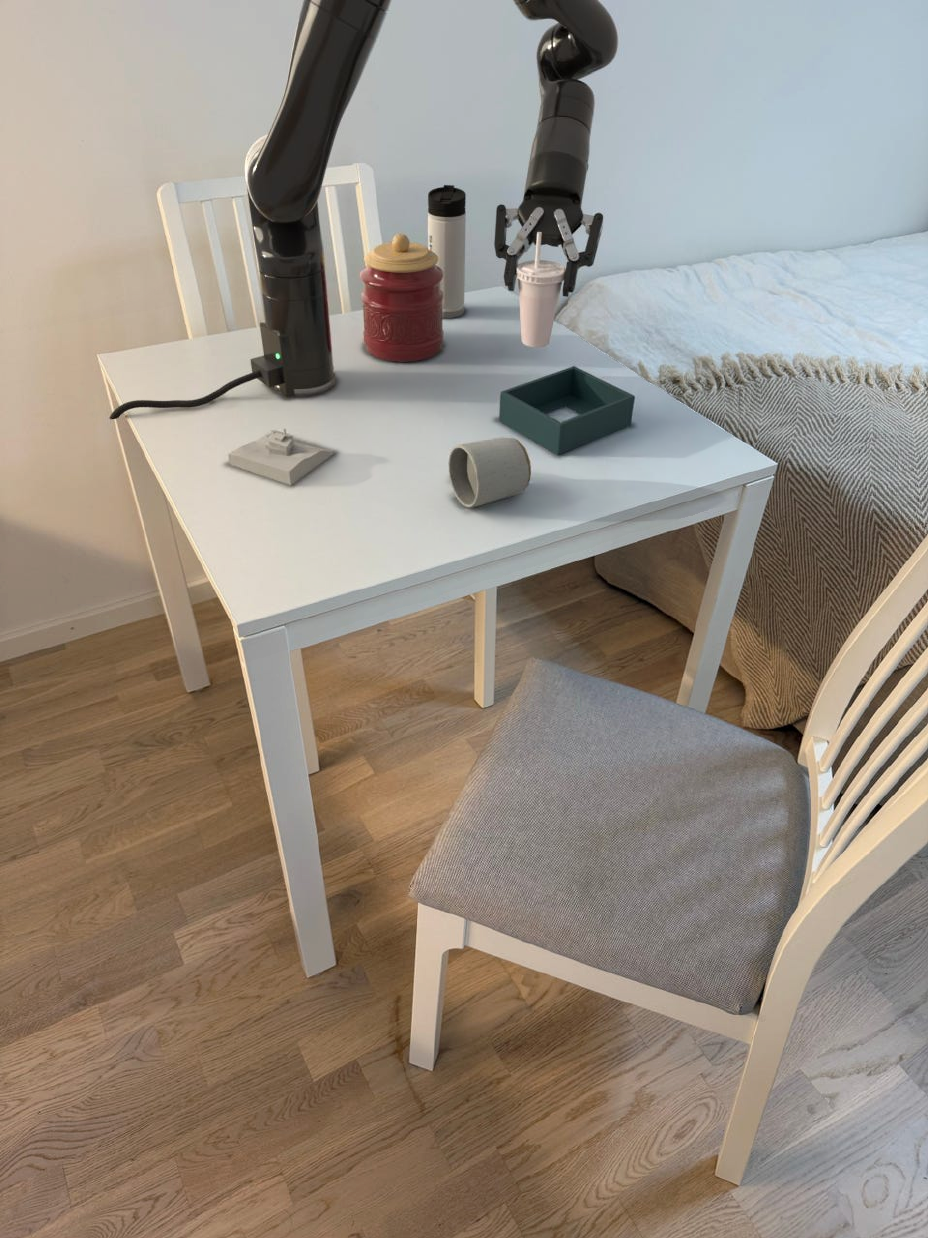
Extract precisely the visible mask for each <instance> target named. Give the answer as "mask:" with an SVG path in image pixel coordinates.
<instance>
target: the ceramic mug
mask: <svg viewBox="0 0 928 1238" xmlns="http://www.w3.org/2000/svg"><path fill="white" fill-rule="evenodd" d="M448 475H449V480H450V483H451V488H452V491H453V493H454V495H455V497H456V499H457V500H458V501H459V503H460V504H461V505H463V506H464V507H465V508H469V509H470V508H476V507H478V506H482V505H486V504H490V503H493V502H496V501H500V500H503V499H507V498H510V497H514V496H517V495H519V494H521V493H523V492H524V491H525V490H526V489H527V488H528V486H529V484H530V481H531V476H532V466H531V460H530V457H529V454H528V452H527V449H526V448H525V446H524V444H522V442H520V440H518V439H516V438H514V437H495V438H490V439H485V440H478V441H474V442H466V443H459V444H457V445H455V446H454V447H452V449H451V451H450V453H449V457H448Z"/></svg>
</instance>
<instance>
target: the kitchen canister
mask: <svg viewBox="0 0 928 1238" xmlns="http://www.w3.org/2000/svg"><path fill="white" fill-rule="evenodd" d="M437 262H438V256H437V255H436V254H435V253H434V252H432V251H430V250H429V249H428V246H425V244H421V243H419V242H412V241H410V239H409V237H408V236H407V235H406V234H404V233H397V234H395V235H394V236H393V238H392V241H389V242H385V243H380V244H378V245H377V246H375V247H374V248H373V249H372V250H370V251H369V252H368V253H366V254H365V256H364V263H365V264H366V265H365V266H364V267H363V268H362V269H361V271H360V273H359V278H360V280H361V281H362V282H363V291H362V292H361V294H360V296H361V297H360V298H361V301H362V314H363V332H362V333H363V342H364V344H365V349H366V351H367V352H368V353H369V354H370V355H372V356H373V357H375V358H378V359H381V360H384V361H390V362H401V363H402V362H403V363H405V362H418V361H422V360H426V359H429V358H431V357H434V356H435V355H437V354H438V353H439V352H440V351H441V350H442V348H443V342H444V329H443V318H442V300H443V297H444V295H443V292H442V291H441V289H440V281H441V280H442V279H443V276H444V274H443V271H442V270H441V268H439V267H438V266H437V265H436V263H437Z"/></svg>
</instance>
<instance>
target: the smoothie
mask: <svg viewBox="0 0 928 1238" xmlns="http://www.w3.org/2000/svg"><path fill="white" fill-rule="evenodd" d="M541 235H542V232H537V242H536V245H535V258H534V259H533V260H527V261H526V260H525V261H523V262H520V263H518V266H517V267H516V279H517V282H518V283H517V285H518V298H519V300H518V301H519V316H520V317H519V319H520V334H521V335H520V337H521V343H522V344H523V345H524V346H526V347H530V348H543V347H546V346H548V345H549V344H550V340H551V336H552V332H553V328H554V327H553V326H554V322H555V318H556V314H557V313H556V312H557V308H558V304H559V299H560V294H561V289H562V286H563V282H564V277H565V271H566V267H565V266H564V265H563V264H560V263H558V262H555V261H551V260H546V259H545V260H543V259H541V246H542V245H541Z"/></svg>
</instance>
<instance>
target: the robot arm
mask: <svg viewBox="0 0 928 1238" xmlns="http://www.w3.org/2000/svg"><path fill="white" fill-rule="evenodd" d="M392 1H393V0H303V2H302V5H301V9H300V12H299V15H298V20H297V25H296V29H295V33H294V38H293V42H292V43H293V44H292V49H291V55H290V62H289V66H288V71H287V79H286V83H285V88H284V92H283V96H282V99H281V101H280V104H279V107H278V110H277V112H276V114H275V116H274V119H273V122H272V124H271V127H270V129H269V131H268V133H267V134H266V135H264V136H261V137H260V138H259V139H257V140H256V141H255V142H254V143H253V144H252V145H251V146H250V148H249V150H248V152H247V154H246V158H245V162H244V177H245V185H246V191H247V192H246V193H247V200H248V209H249V215H250V222H251V230H252V236H253V237H252V238H253V245H254V253H255V257H256V265H257V272H258V279H259V286H260V294H261V295H260V296H261V301H262V302H261V303H262V311H263V318H264V320H262V321H260V322H259V329H260V338H261V345H262V352H263V353H262V354H263V355H260V356H257V357H253V358H250V367H251V372H250V373H247V374H244V375H242V376H239V377H238V378H235V379H233V380H231V381H229V382H227V383H226V384H223V385H222V386H221V387H220V388H218V389H216V390H215V391H213V392H211V393H209V394H207V395H205V396H203V397H200V398H199V397H198V398H196V399H188V400H187V399H185V400H183V399H181V400H180V399H176V400H175V399H174V400H151V399H136V400H131V401H127V402H125V403H122V404H121V405H119V406H118V407H116V408H115V409H114V410H113V411H112V413H110V416H109V420H116V419H119V418H120V416H122V414H124V413H126V412H127V411H129V410H132V409H138V408H153V409H172V408H173V409H174V408H186V409H187V408H189V409H190V408H196V407H201V406H205V405H206V404H207V405H208V404H210V402H212V401H215V400H216V399H218V398H220V397H221V396H223V395H225V394H226V393H228V392H229V391H231V390H232V389H234V388H236V387H238V386H240V385H244V384H246V383H249V382H251V381H254V380H256V379H257V380H258V381H260V382H261V383H262V384H263V385H265V386H267V388H269V389H271V388H273V389H274V390H275V391H277V392H279V393H280V394H281V395H283V396H284V397H286V398H292V397H306V396H308V397H309V396H315V395H318V394H322V393H325V392H327V391H329V390H331V389H332V388H333V387H334V386H335V384H336V374H335V367H334V357H333V345H332V333H331V323H330V322H331V320H330V310H329V309H330V307H329V297H328V285H327V272H326V262H325V250H324V244H323V243H324V242H323V236H322V231H321V223H320V213H319V212H320V211H319V202H318V201H319V198H320V194H321V191H322V186H323V183H324V179H325V175H326V171H327V167H328V164H329V160H330V157H331V153H332V149H333V146H334V142H335V139H336V137H337V132H338V130H339V128H340V125H341V122H342V119H343V117H344V116H345V115H344V114H345V112H346V110H347V108H348V106H349V104H350V102H351V100H352V98H353V95H354V93H355V92H356V89H357V87H358V85H359V83H360V80H361V78H362V76H363V74H364V71H365V69H366V66H367V64H368V61H369V59H370V57H371V54H372V52H373V50H374V48H375V45H376V43H377V39H378V38H379V36H380V32H381V30H382V28H383V25H384V22H385V20H386V17H387V14H388V11H389V9H390V6H391V4H392ZM512 1H513V3H514V5H515V6H516V8H517V10H518V11H519V13H520V14H521V15H522V16H523V18H525V19H526V20H527V21H530V22H534V21H535V22H536V21H543V20H554V21H556V22H557V23H555V24H553V25H552V26H550V27H549V28H548V29H546V30H545V31H544V33H543V34H542V36H541V38H540V40H539V42H538V45H537V49H536V55H535V60H536V68H537V77H538V88H539V96H540V107H539V112H538V118H537V123H536V130H535V134H534V137H533V141H532V143H531V149H530V156H529V161H528V168H527V172H526V173H527V174H526V178H525V186H524V191H523V198H522V201H521V203H520V204H519V206H518V207H517V208H507V207H506V205H505V204H502V203H501V204H498V205H497V206H496V211H495V224H494V225H495V226H494V228H495V229H494V242H493V246H494V251H495V252H494V253H495V256H496V258H498V259H503V260H505V265H504V272H503V281H504V282H503V283H504V286H505V287H507V289H508V292H515V289H516V282H517V277H516V267H517V266H518V265H519V260H520V259H521V258H522V256H523V255H524V254H525V253H527V252H528V251H529V249H530V248H531V247H532V246H533V245H534V246H536V242H537V232H542V235H541V246H546V245H547V246H550V247H553V248H559V246H560V247H561V249H562V253H563V255H564V257H565V258H566V265H565V269H566V271H565V277H564V280H563V283H562V297H567V298H568V297H569V294H570V293H571V294H572V293H573V294H574V291H575V289H576V285H577V284H576V283H577V278H578V271H579V269H580V268H582V267H586V268H587V267H588V268H589V267H592V266H593V265H594V263H595V260H596V256H597V252H598V248H599V244H600V240H601V237H602V232H603V228H604V215H603V213H602V212H596V213H595V214H594V215H591V214H585V213H584V212H583V209H582V204H583V197H584V193H585V184H586V179H587V173H588V170H589V160H590V159H589V158H590V152H591V151H590V150H591V149H590V148H591V147H590V145H591V134H592V128H593V121H594V115H595V107H596V99H595V94H594V91H593V90H592V88H591V87H590V86H589V85H588V84H587V83H586V82H584V81H582V80H581V79H583V78H586V77H588V76H590V75H592V74H595V73H597V72H599V71H601V70H602V69H605V68H606V67H607V66H609V65H610V64H611V63H612V62H613V61H614V59H615V58H616V55H617V52H618V49H619V48H618V47H619V35H618V34H619V33H618V31H617V26H616V24H615V23H616V22H615V21H614V19H613V17H612V15H611V13H610V12H609V11H608V9H607V8H606V7H605V6H604V5H603V4H602V3H601V2H600V0H512ZM516 220H517V221H518V223H519V225H520V226H521V228H520V229H519V231H518V232H517V234H516V237H515V239H514V240H513V241H512V242H511V244H509V245H508V244H507V231H508V229H510V228H511V227H512V226H513V223H514V222H515V221H516ZM581 226H583V227H584V228H585V231H584V232H585V234H587V235H588V237H587V241H586V245H585V249H584V250H583V251H580V252H579V250H578V248H577V246H576V242H575V239H574V236H573V235H574V234H575V233H576V231H577V230H578V229H579V228H580V227H581Z"/></svg>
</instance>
